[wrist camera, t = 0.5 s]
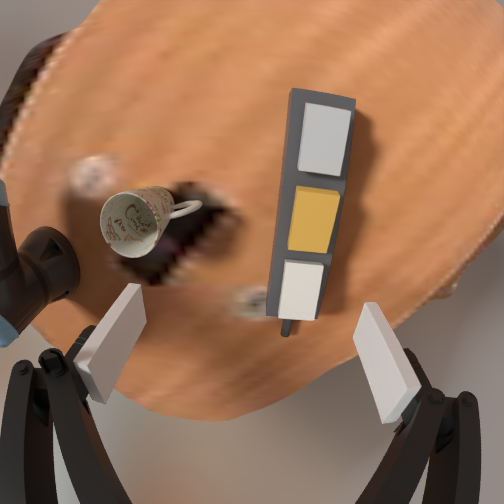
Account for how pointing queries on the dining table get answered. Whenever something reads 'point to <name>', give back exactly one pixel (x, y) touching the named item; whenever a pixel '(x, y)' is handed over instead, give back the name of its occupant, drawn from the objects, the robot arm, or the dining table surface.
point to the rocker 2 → (312, 219)
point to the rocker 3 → (300, 289)
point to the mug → (140, 219)
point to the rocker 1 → (323, 139)
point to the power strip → (288, 189)
